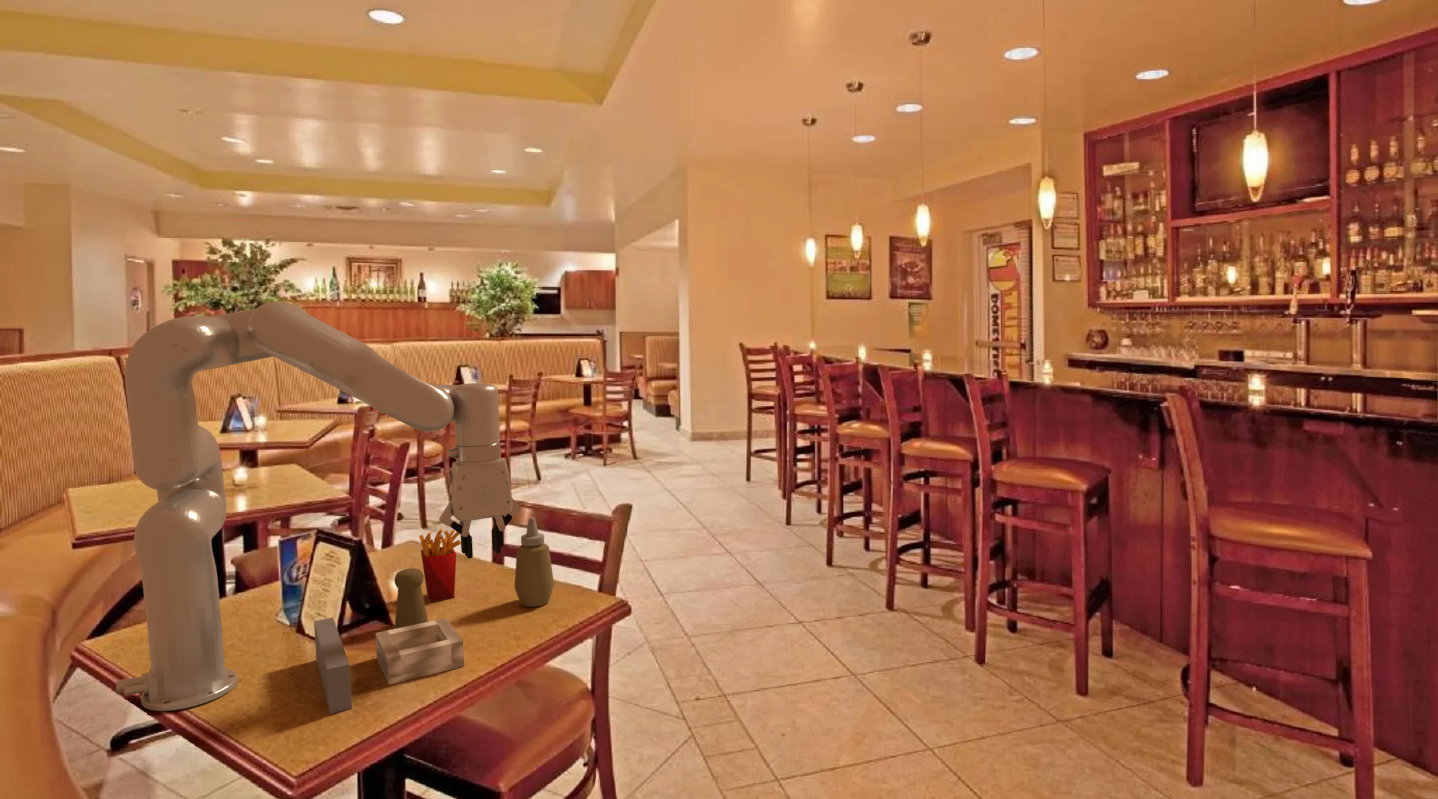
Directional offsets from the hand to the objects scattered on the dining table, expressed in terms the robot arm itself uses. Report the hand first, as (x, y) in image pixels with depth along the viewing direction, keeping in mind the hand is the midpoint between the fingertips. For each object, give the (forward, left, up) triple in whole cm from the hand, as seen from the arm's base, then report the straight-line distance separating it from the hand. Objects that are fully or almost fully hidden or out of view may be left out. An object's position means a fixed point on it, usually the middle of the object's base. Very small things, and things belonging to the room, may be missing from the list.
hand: (482, 553), depth 136 cm
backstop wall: (-25, 0, -17) cm, 30 cm away
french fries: (-1, +30, -18) cm, 35 cm away
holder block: (-12, 0, -17) cm, 21 cm away
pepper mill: (-10, +18, -18) cm, 27 cm away
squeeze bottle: (+14, +16, -18) cm, 28 cm away
